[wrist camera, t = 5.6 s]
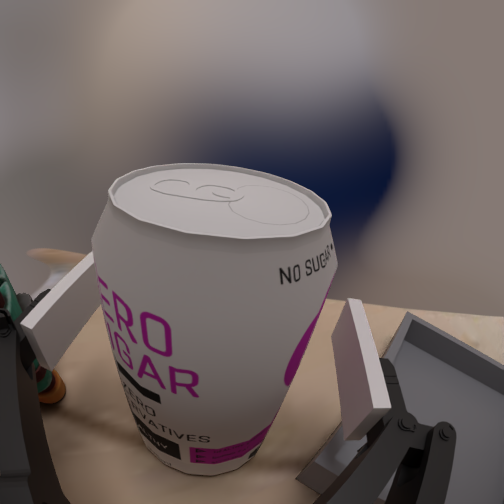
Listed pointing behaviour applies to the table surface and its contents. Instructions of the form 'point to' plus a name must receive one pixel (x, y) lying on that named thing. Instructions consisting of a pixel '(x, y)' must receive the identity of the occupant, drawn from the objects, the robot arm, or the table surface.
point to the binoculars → (47, 381)
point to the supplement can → (210, 303)
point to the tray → (438, 412)
